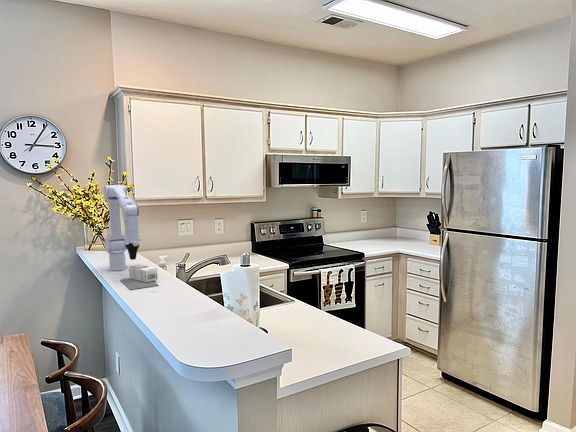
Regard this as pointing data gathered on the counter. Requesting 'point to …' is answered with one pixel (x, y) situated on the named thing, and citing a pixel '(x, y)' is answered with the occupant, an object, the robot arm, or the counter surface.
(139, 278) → the syrup box
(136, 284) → the mat
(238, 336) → the counter surface
